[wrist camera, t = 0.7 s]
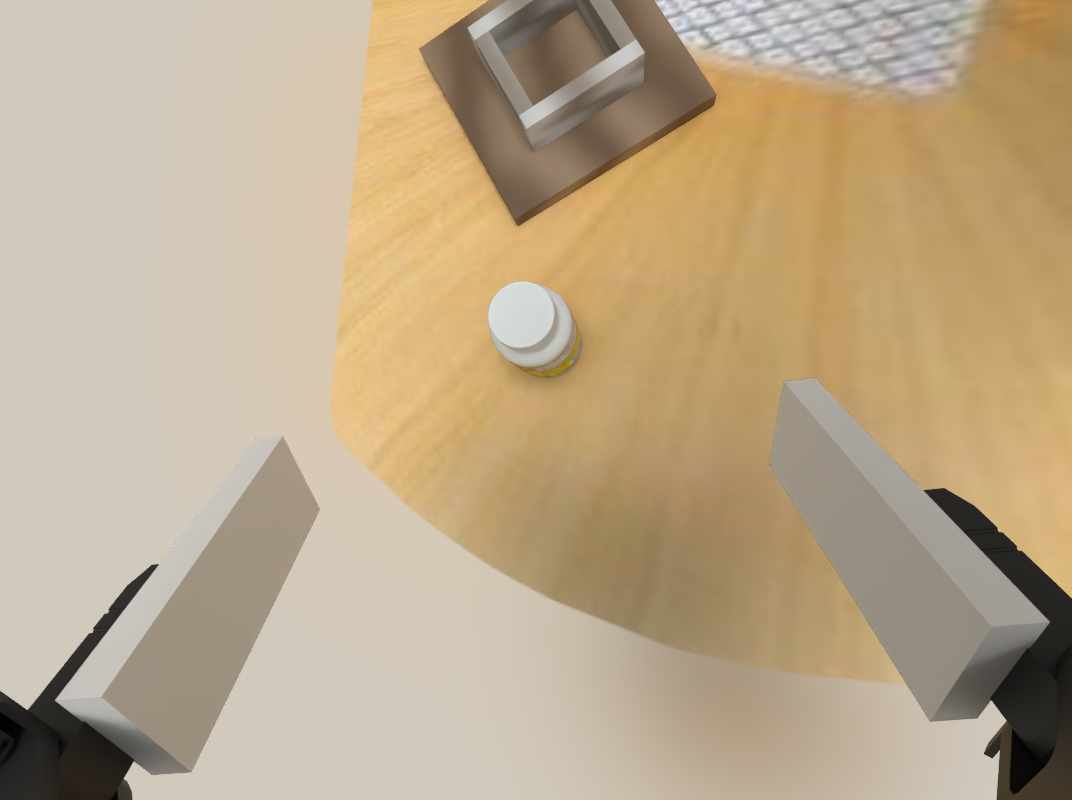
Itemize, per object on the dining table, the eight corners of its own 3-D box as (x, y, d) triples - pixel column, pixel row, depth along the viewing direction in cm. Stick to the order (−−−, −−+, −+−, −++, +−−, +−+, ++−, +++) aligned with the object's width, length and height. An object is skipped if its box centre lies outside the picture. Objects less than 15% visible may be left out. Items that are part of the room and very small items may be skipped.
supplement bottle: (594, 358, 37) (583, 332, 28) (532, 391, 38) (501, 377, 28) (561, 297, 38) (540, 252, 28) (501, 331, 39) (461, 298, 29)
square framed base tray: (602, -63, 39) (600, -121, 35) (713, 105, 37) (724, 64, 33) (424, 59, 41) (402, 18, 37) (518, 225, 39) (505, 201, 35)
